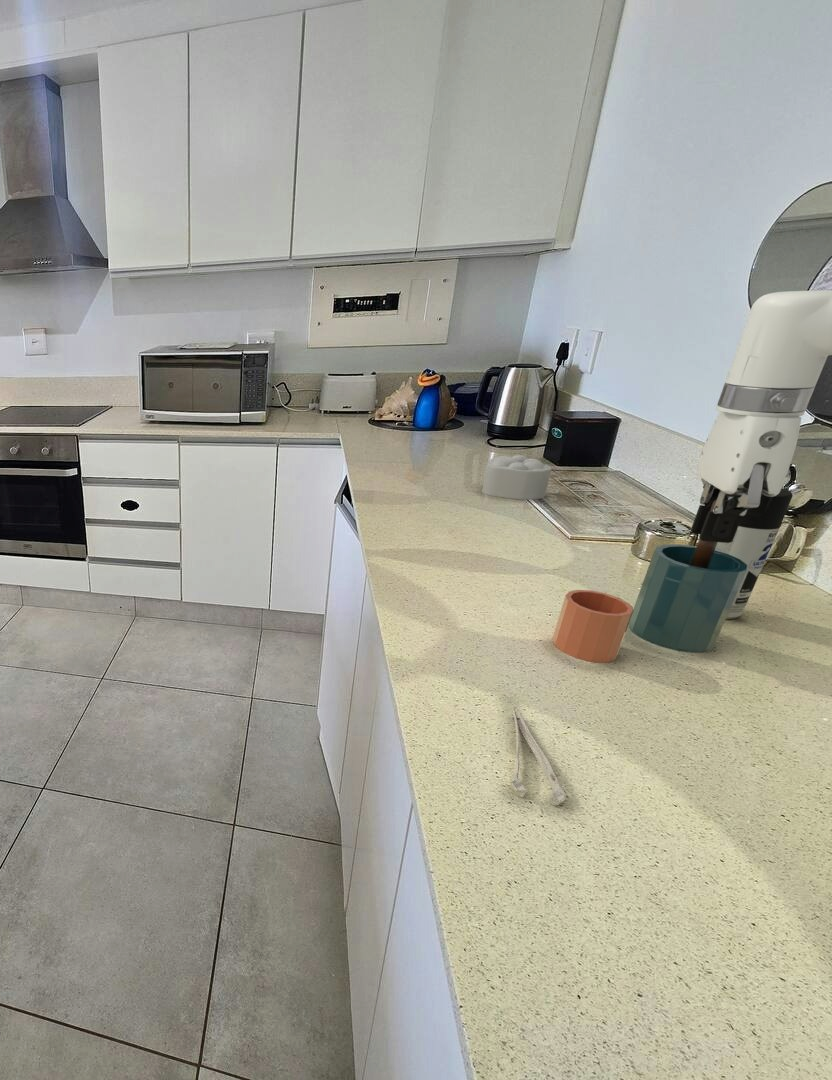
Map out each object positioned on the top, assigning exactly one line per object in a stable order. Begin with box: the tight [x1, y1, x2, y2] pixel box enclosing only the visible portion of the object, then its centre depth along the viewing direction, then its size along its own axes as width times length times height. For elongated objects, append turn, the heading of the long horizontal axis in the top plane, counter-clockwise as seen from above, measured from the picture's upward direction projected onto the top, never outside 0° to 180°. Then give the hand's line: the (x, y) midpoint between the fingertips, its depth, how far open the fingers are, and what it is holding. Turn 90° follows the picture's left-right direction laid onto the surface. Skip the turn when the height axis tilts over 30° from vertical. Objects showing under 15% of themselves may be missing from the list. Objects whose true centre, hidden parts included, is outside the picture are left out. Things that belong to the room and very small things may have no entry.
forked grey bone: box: [510, 706, 567, 806], centre depth 66 cm, size 17×5×2 cm, turn 155°
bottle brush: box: [690, 500, 728, 569], centre depth 79 cm, size 4×4×18 cm
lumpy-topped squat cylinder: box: [481, 454, 553, 501], centre depth 142 cm, size 10×13×9 cm
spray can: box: [715, 487, 793, 620], centre depth 87 cm, size 7×7×20 cm
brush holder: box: [551, 589, 634, 664], centre depth 81 cm, size 7×7×8 cm
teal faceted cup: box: [628, 543, 747, 654], centre depth 82 cm, size 9×9×13 cm
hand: (710, 536), depth 78 cm, fingers closed on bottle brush
